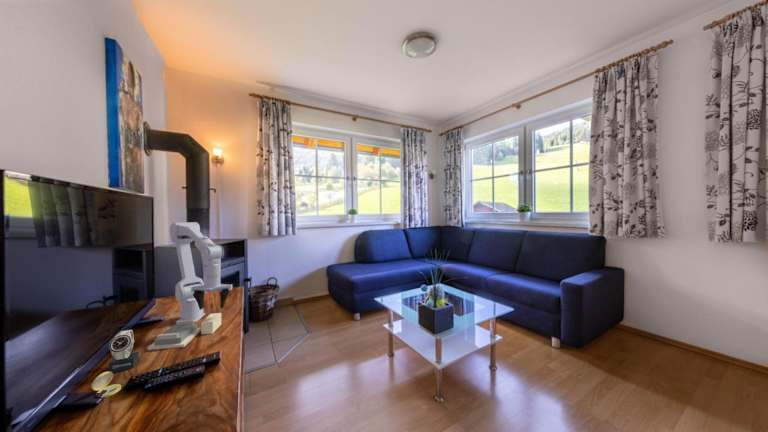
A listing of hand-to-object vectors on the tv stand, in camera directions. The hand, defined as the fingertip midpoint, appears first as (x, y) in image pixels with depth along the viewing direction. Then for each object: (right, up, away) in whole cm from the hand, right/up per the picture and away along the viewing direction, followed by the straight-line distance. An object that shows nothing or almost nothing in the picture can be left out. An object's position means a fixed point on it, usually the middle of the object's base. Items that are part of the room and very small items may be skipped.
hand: (212, 308), depth 106 cm
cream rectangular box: (0, -9, 0) cm, 9 cm away
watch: (-9, -9, -27) cm, 30 cm away
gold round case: (-3, -9, -38) cm, 39 cm away
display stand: (-7, -9, -9) cm, 14 cm away
